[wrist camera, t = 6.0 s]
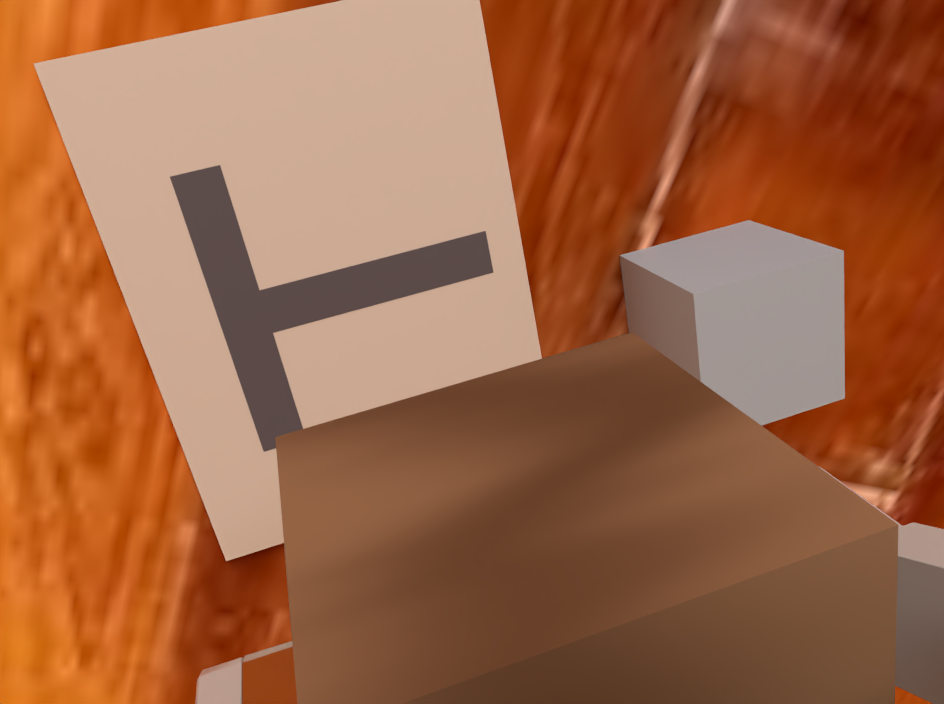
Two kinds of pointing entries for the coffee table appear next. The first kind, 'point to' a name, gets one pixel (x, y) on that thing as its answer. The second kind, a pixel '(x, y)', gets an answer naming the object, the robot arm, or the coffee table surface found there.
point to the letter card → (300, 224)
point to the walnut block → (579, 548)
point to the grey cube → (745, 315)
